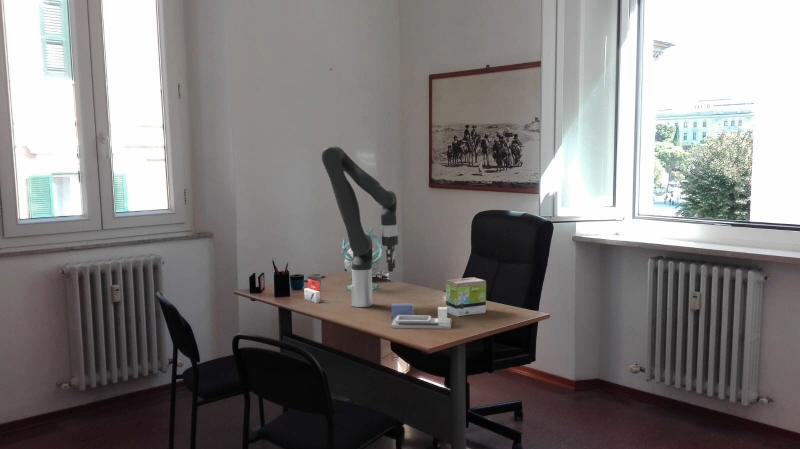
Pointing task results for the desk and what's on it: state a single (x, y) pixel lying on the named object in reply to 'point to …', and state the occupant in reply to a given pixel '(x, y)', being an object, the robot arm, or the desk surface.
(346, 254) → the armillary sphere
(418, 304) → the desk surface
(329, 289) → the desk surface
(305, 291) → the ink cartridge box
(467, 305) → the tea box
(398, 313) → the blue block
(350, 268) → the decorative sphere
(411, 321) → the dock
